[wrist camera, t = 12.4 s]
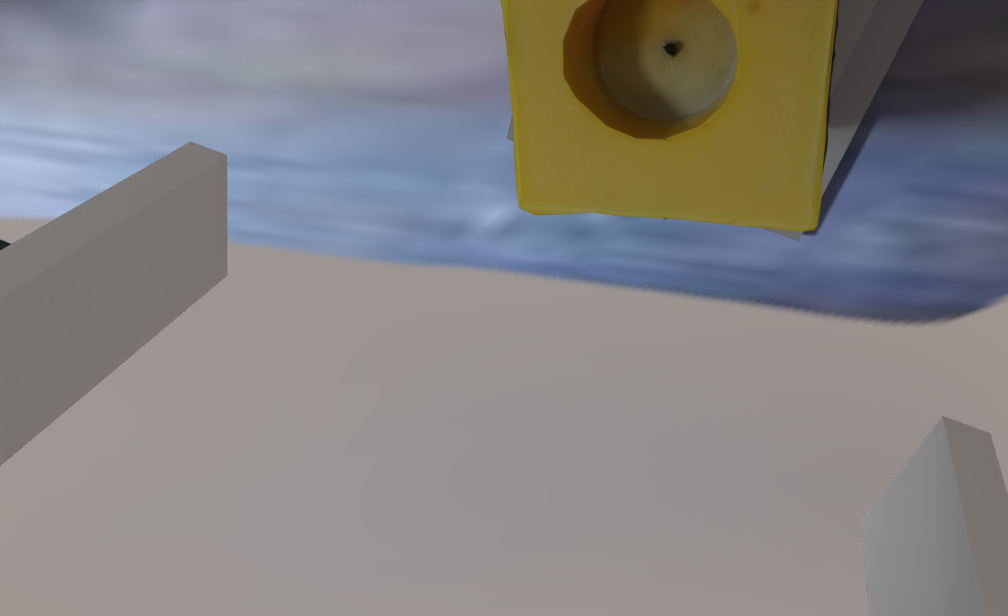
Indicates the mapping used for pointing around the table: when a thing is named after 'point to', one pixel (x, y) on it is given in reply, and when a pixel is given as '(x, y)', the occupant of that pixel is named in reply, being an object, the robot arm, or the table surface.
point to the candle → (672, 108)
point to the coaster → (855, 70)
